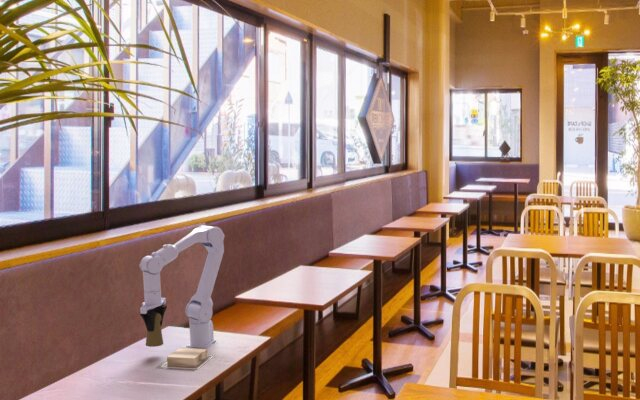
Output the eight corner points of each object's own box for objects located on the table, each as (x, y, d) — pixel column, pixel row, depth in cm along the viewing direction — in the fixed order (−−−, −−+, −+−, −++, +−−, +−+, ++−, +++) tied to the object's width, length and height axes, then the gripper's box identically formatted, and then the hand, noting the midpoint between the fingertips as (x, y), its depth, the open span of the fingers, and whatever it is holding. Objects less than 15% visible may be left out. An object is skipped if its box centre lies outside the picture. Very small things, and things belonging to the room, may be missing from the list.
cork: (159, 346, 231) (158, 315, 230) (142, 346, 232) (141, 315, 231) (166, 342, 237) (165, 311, 236) (149, 341, 238) (148, 311, 237)
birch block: (180, 356, 233) (180, 347, 233) (207, 357, 231) (206, 349, 231) (167, 365, 224) (166, 356, 224) (194, 367, 221) (194, 358, 221)
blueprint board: (176, 353, 237) (176, 352, 237) (215, 356, 233) (215, 354, 233) (154, 369, 222) (154, 367, 222) (195, 372, 218) (195, 370, 218)
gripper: (152, 285, 241) (154, 322, 242) (131, 295, 227) (133, 334, 228) (170, 285, 239) (172, 323, 240) (150, 295, 225) (152, 335, 226)
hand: (154, 328), depth 234 cm, fingers closed on cork, 5 cm apart
